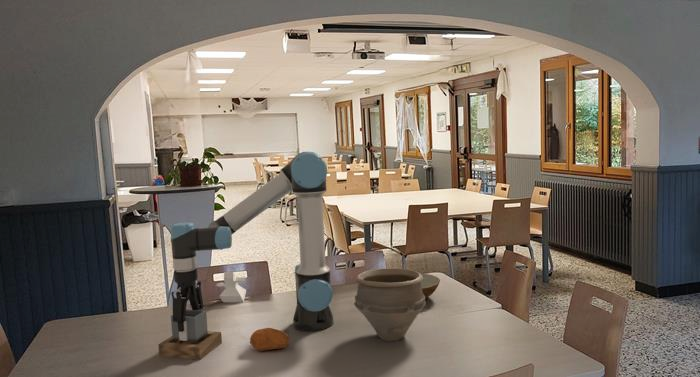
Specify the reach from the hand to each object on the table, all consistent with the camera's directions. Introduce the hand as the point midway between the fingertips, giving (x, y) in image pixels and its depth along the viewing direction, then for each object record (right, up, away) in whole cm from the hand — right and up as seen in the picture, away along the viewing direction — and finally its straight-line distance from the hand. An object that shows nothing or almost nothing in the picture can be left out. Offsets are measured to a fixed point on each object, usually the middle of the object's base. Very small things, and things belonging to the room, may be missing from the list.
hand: (190, 335), depth 174 cm
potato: (+28, -4, -2) cm, 28 cm away
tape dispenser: (+2, 0, +54) cm, 54 cm away
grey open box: (0, 0, 0) cm, 0 cm away
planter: (+68, -2, +4) cm, 68 cm away
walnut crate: (0, -5, 0) cm, 5 cm away
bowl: (+80, +3, +45) cm, 91 cm away
